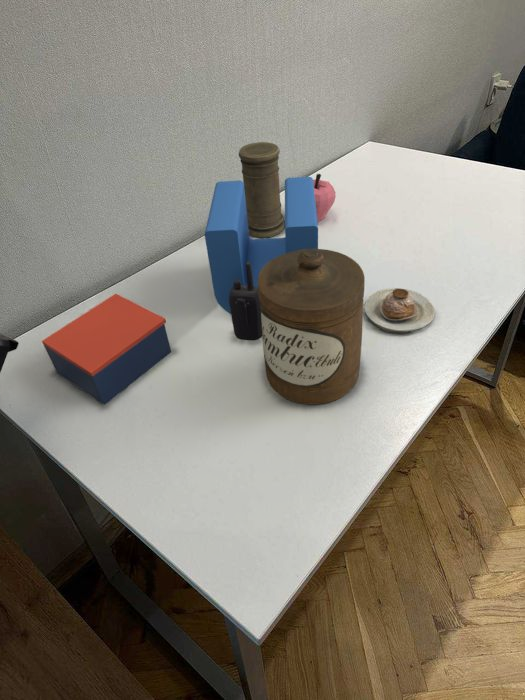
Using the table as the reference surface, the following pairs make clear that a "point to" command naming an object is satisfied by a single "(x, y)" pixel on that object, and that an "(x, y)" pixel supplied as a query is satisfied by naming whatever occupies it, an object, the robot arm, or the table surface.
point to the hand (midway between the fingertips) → (16, 344)
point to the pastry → (399, 310)
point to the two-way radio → (246, 309)
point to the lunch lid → (103, 333)
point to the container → (262, 188)
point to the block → (238, 248)
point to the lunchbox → (116, 367)
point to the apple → (323, 197)
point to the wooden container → (312, 324)
